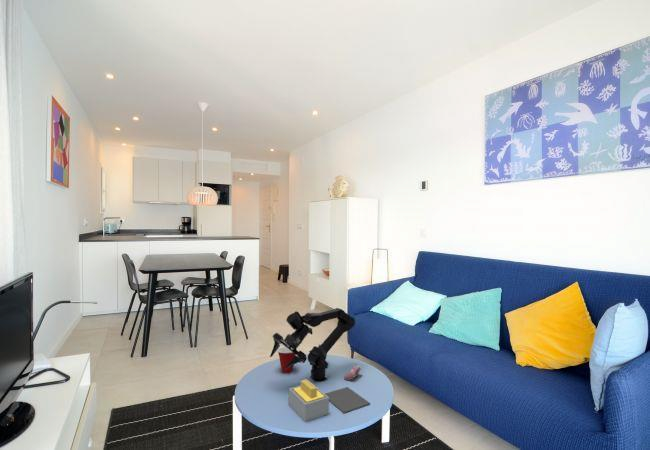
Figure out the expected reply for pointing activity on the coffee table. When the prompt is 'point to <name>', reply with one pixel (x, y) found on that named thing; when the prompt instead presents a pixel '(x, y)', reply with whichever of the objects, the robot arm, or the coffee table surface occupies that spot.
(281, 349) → the plastic cup
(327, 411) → the box
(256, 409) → the coffee table surface
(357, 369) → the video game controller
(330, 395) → the mat
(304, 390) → the lid
